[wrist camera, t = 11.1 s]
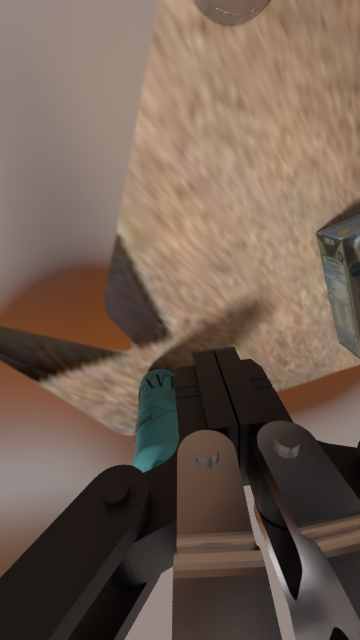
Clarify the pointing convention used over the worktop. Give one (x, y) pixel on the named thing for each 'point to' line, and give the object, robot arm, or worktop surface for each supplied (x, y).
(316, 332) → the worktop surface
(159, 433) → the beverage bottle
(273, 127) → the worktop surface
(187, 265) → the worktop surface
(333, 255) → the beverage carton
